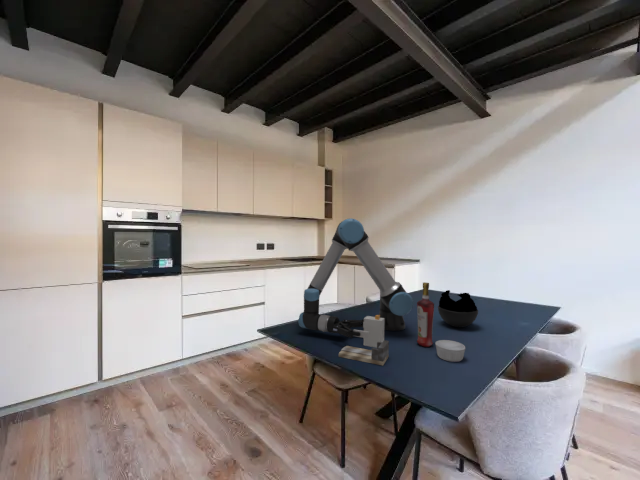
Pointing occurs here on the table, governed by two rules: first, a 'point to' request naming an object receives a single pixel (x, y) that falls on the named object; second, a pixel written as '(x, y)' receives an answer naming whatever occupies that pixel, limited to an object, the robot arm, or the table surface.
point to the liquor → (425, 318)
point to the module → (374, 330)
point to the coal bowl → (457, 310)
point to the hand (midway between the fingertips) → (372, 330)
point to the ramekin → (450, 350)
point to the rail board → (367, 353)
